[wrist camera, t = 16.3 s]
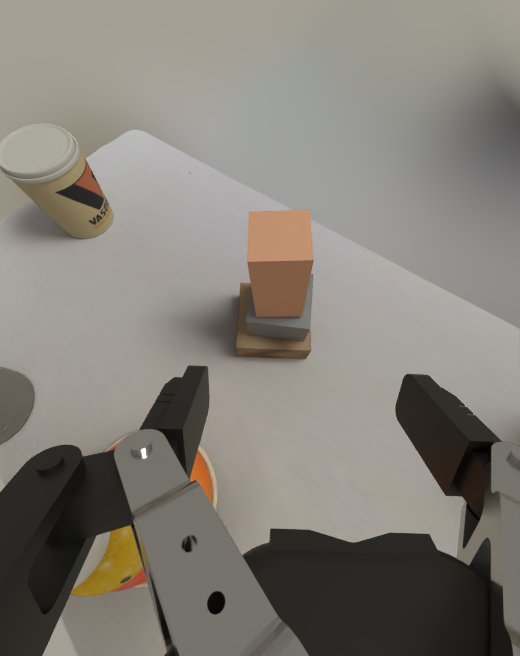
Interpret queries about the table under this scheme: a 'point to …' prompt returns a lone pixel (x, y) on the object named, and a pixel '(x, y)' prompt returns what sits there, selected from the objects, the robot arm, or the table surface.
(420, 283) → the table surface
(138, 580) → the stacking toy
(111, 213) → the coffee cup
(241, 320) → the tower base
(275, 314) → the pillar
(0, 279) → the table surface
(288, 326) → the tower top
